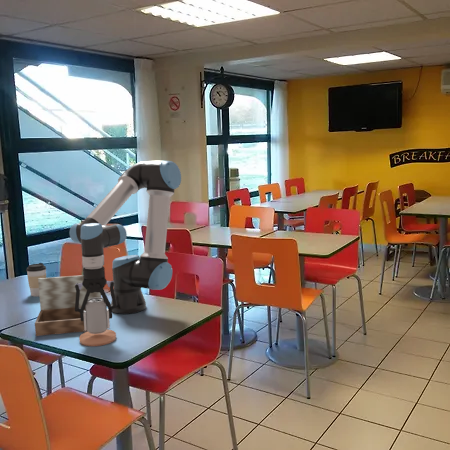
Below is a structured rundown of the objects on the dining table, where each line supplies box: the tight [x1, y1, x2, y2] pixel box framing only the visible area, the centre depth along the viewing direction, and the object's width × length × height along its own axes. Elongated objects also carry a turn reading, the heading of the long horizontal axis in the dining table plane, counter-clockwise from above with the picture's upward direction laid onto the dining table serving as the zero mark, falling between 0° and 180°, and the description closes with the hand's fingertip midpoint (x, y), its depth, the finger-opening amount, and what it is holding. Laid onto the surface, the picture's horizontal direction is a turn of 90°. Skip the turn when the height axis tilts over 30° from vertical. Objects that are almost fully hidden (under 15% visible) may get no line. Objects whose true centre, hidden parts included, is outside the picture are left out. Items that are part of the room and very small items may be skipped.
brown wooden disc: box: [78, 328, 117, 347], centre depth 184 cm, size 13×13×2 cm
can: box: [85, 296, 109, 334], centre depth 183 cm, size 8×8×12 cm
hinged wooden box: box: [34, 274, 102, 337], centre depth 198 cm, size 24×17×18 cm
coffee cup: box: [25, 262, 47, 297], centre depth 243 cm, size 9×9×15 cm
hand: (97, 328), depth 183 cm, fingers closed on can, 7 cm apart
